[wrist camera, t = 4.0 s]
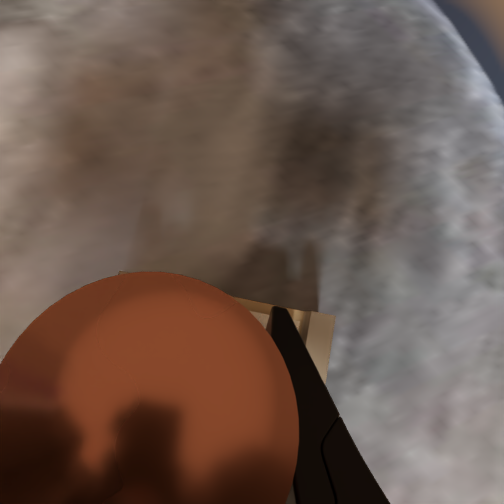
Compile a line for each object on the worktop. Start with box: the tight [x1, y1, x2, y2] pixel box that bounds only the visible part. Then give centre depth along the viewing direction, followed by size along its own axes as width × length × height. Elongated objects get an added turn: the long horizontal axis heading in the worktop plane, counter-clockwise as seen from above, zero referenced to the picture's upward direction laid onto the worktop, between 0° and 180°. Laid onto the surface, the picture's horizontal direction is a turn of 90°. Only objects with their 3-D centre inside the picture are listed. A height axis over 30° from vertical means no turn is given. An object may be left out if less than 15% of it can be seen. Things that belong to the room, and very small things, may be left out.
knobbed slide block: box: [0, 272, 300, 504], centre depth 8 cm, size 8×6×11 cm
